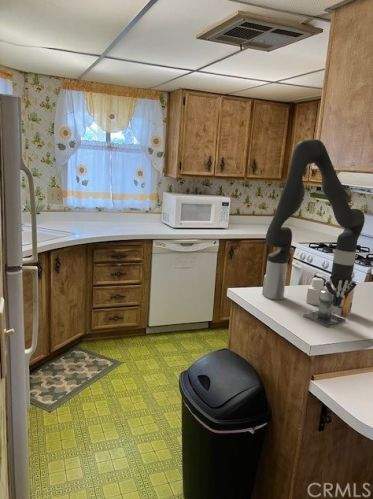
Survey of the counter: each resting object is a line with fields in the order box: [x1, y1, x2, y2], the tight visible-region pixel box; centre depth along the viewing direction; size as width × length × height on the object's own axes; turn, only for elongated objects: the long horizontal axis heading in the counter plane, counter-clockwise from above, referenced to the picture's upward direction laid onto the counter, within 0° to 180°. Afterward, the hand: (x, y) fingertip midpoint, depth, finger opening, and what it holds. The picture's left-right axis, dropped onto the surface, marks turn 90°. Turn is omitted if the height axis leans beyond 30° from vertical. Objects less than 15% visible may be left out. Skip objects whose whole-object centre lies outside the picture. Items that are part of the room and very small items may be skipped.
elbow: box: [319, 289, 351, 319], centre depth 162 cm, size 14×6×9 cm, turn 31°
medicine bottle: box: [306, 276, 327, 307], centre depth 186 cm, size 7×7×12 cm
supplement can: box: [332, 278, 356, 316], centre depth 175 cm, size 8×8×15 cm
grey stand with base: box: [302, 301, 347, 328], centre depth 166 cm, size 12×12×8 cm
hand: (336, 305), depth 156 cm, fingers closed
